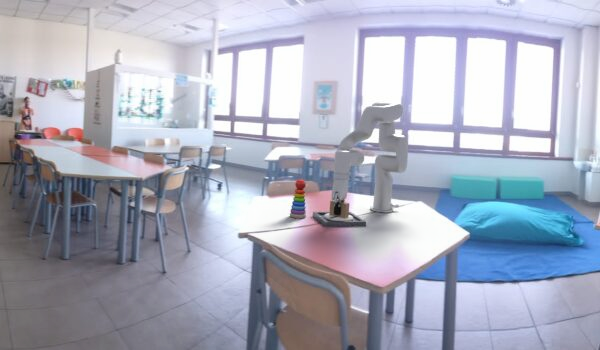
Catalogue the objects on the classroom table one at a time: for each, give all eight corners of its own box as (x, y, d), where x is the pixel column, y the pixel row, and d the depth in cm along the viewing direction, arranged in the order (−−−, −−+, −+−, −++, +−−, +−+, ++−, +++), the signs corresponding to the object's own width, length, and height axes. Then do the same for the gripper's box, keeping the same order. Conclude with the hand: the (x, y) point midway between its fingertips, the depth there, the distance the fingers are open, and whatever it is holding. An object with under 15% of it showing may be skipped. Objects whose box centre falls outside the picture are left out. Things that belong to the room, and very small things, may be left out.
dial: (334, 213, 200) (335, 197, 199) (358, 218, 192) (359, 202, 191) (318, 217, 190) (319, 201, 188) (342, 223, 181) (344, 206, 180)
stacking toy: (294, 219, 189) (296, 180, 187) (287, 215, 196) (289, 178, 194) (308, 218, 193) (310, 180, 190) (301, 214, 200) (303, 177, 197)
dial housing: (349, 215, 203) (350, 211, 203) (366, 226, 184) (366, 221, 184) (312, 216, 198) (312, 211, 197) (325, 226, 179) (325, 221, 178)
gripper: (339, 174, 197) (337, 209, 200) (327, 177, 182) (325, 216, 184) (354, 175, 194) (351, 212, 196) (343, 179, 179) (340, 218, 181)
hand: (338, 213), depth 190 cm, fingers closed on dial, 3 cm apart
